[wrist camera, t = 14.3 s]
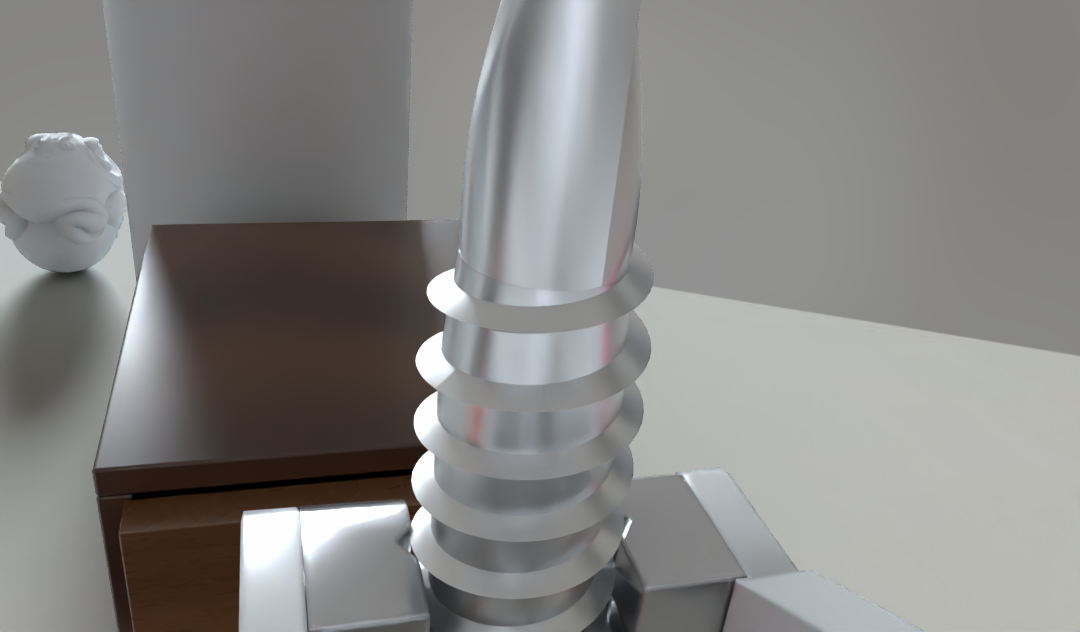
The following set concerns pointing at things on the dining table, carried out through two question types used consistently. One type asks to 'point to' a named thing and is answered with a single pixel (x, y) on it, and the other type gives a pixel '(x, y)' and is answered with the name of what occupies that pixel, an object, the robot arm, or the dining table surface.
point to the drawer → (219, 543)
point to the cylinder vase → (261, 110)
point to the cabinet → (268, 360)
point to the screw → (538, 331)
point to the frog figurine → (62, 202)
